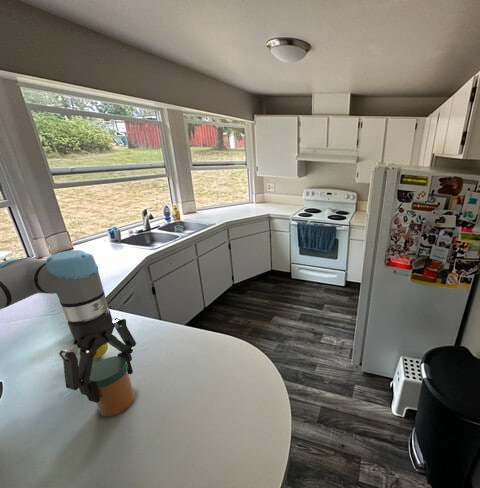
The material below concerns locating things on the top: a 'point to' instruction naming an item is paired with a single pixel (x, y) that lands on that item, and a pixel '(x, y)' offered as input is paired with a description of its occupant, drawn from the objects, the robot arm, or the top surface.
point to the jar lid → (108, 371)
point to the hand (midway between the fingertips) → (112, 385)
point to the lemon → (101, 350)
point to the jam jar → (115, 396)
